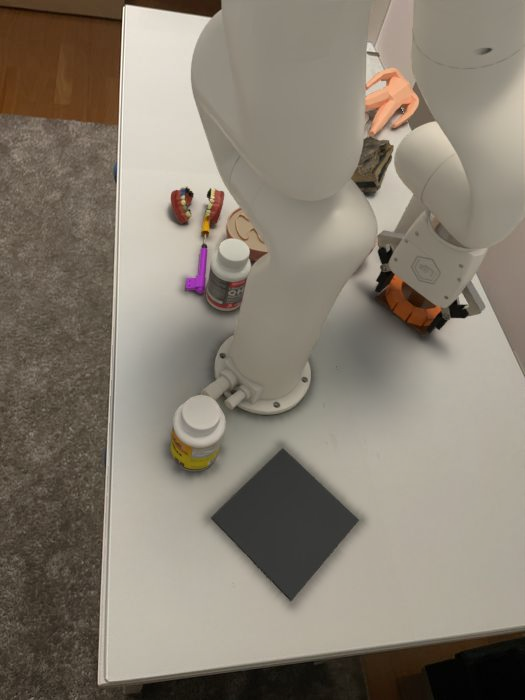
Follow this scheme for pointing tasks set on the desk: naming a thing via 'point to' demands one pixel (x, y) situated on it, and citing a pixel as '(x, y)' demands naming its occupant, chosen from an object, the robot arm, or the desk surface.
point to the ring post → (414, 299)
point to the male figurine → (390, 99)
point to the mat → (285, 522)
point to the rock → (372, 164)
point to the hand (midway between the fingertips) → (406, 306)
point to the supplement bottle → (197, 433)
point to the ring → (408, 305)
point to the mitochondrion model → (248, 234)
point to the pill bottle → (228, 275)
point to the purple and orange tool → (200, 279)
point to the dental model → (184, 198)
